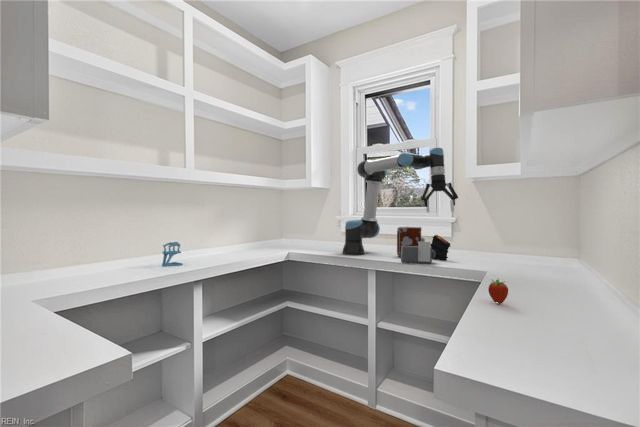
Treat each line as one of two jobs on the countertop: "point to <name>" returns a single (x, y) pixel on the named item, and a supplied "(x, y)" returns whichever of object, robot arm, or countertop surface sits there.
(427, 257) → the side door
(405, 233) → the brown box
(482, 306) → the countertop surface
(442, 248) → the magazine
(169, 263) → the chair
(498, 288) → the fruit
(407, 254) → the block
